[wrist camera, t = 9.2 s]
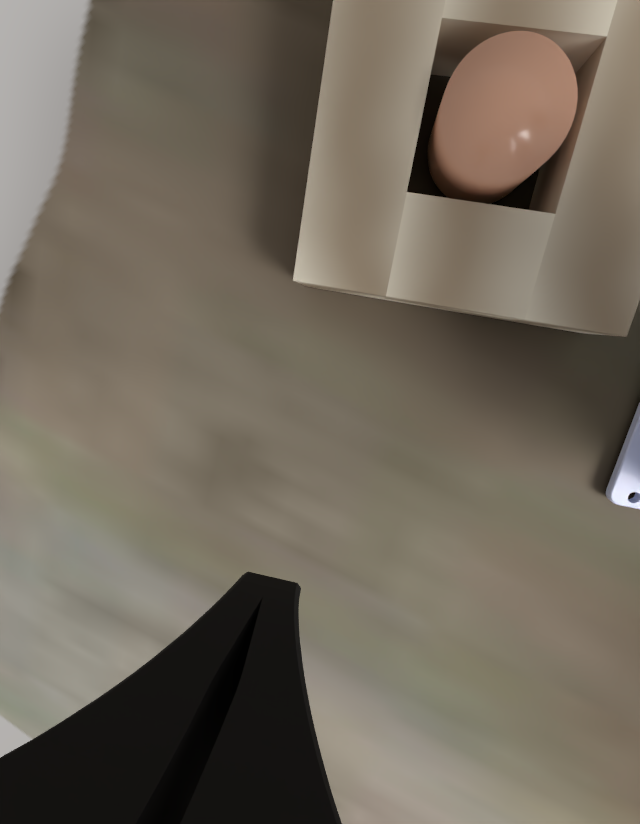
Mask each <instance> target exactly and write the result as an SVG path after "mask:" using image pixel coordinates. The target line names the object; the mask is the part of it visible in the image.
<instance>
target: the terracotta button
mask: <svg viewBox="0 0 640 824" xmlns="http://www.w3.org/2000/svg"><path fill="white" fill-rule="evenodd" d="M577 99H578V87H577V81H576V76H575V72H574V69H573V67H572V64H571V62H570V60H569V58H568V57H567V55H566V54H565V52H564V51H563V50H562V49H561V48H560V47H559V46H558V45H557V44H556V43H555V42H553V41H552V40H551V39H549V38H547V37H545V36H543V35H541V34H538V33H535V32H529V31H510V32H505V33H501V34H498V35H496V36H493V37H491V38H489V39H487V40H485V41H484V42H482V43H480V44H479V45H478V46H476V47H475V48H474V49H472V50H471V51H470V52H469V53H468V54H467V55H466V56H465V57H464V58H463V60H462V61H461V62H460V63H459V65H458V66H457V68H456V69H455V71H454V72H453V74H452V76H451V78H450V80H449V82H448V84H447V87H446V89H445V92H444V95H443V98H442V101H441V104H440V107H439V110H438V113H437V116H436V119H435V122H434V125H433V128H432V131H431V135H430V138H429V143H428V152H427V158H428V166H429V170H430V173H431V176H432V179H433V180H434V182H435V184H436V186H437V187H438V188H439V190H440V191H441V192H442V193H443V194H444V195H446V196H447V197H448V198H451V199H458V200H465V201H472V202H479V203H485V204H490V203H493V202H496V201H498V200H500V199H502V198H504V197H505V196H507V195H508V194H510V193H511V192H512V191H513V190H514V189H516V188H517V187H518V186H519V185H520V184H521V183H522V182H523V181H525V180H526V179H527V178H528V177H529V176H530V175H531V174H533V173H534V172H535V171H536V170H537V169H538V168H539V167H541V166H542V165H543V164H544V163H545V162H546V161H547V160H548V159H549V158H550V157H551V156H552V155H553V154H554V153H555V152H556V151H557V150H558V148H559V147H560V146H561V144H562V143H563V141H564V140H565V138H566V136H567V134H568V132H569V130H570V128H571V126H572V123H573V120H574V117H575V112H576V108H577Z"/></svg>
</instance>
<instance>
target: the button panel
mask: <svg viewBox="0 0 640 824" xmlns="http://www.w3.org/2000/svg"><path fill="white" fill-rule="evenodd" d="M510 31H529V32H535V33H538V34H541V35H543V36H545V37H547V38H549V39H551V40H552V41H553V42H555V43H556V44H557V45H558V46H559V47H560V48H561V49H562V50H563V51H564V52H565V54H566V55H567V57H568V58H569V60H570V62H571V64H572V67H573V69H574V72H575V76H576V81H577V87H578V99H577V108H576V112H575V117H574V120H573V123H572V126H571V128H570V130H569V132H568V134H567V136H566V138H565V140H564V141H563V143H562V144H561V146H560V147H559V148H558V150H557V151H556V152H555V153H554V154H553V155H552V156H551V157H550V158H549V159H548V160H547V161H546V162H545V163H544V164H543V165H542V166H541V167H540V170H539V173H538V177H537V181H536V184H535V188H534V192H533V195H532V199H531V203H530V206H529V210H526V209H519V208H512V207H506V206H499V205H492V204H485V203H479V202H472V201H465V200H458V199H451V198H445V197H438V196H431V195H424V194H418V193H411V192H407V189H408V184H409V179H410V174H411V169H412V164H413V159H414V154H415V149H416V144H417V139H418V134H419V129H420V124H421V119H422V114H423V109H424V105H425V100H426V95H427V90H428V85H429V80H430V75H439V76H447V77H451V76H452V74H453V72H454V71H455V69H456V68H457V66H458V65H459V63H460V62H461V61H462V60H463V58H464V57H465V56H466V55H467V54H468V53H469V52H470V51H471V50H472V49H474V48H475V47H476V46H478V45H479V44H480V43H482V42H484V41H485V40H487V39H489V38H491V37H493V36H496V35H498V34H501V33H505V32H510ZM293 281H295V282H297V283H299V284H301V285H304V286H306V287H312V288H318V289H324V290H330V291H335V292H341V293H347V294H353V295H359V296H365V297H371V298H377V299H383V300H388V301H394V302H400V303H406V304H412V305H418V306H424V307H430V308H436V309H442V310H447V311H453V312H459V313H465V314H471V315H477V316H483V317H489V318H495V319H500V320H506V321H512V322H518V323H524V324H530V325H536V326H542V327H548V328H554V329H559V330H565V331H571V332H577V333H584V334H597V335H610V336H623V337H627V334H628V332H629V329H630V326H631V323H632V320H633V318H634V315H635V312H636V309H637V306H638V304H639V301H640V0H333V5H332V12H331V19H330V26H329V33H328V40H327V47H326V54H325V61H324V68H323V75H322V82H321V88H320V95H319V102H318V109H317V116H316V123H315V130H314V137H313V144H312V151H311V158H310V165H309V172H308V179H307V186H306V193H305V200H304V207H303V214H302V221H301V228H300V235H299V242H298V249H297V256H296V263H295V270H294V277H293Z"/></svg>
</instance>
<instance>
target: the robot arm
mask: <svg viewBox="0 0 640 824" xmlns="http://www.w3.org/2000/svg"><path fill="white" fill-rule="evenodd" d="M632 492H635V495H634V497H633V498H631V499H628V496H629V494H630V493H632ZM606 496H607V498H608V499H609V500H610V501H611V502H613V503H614V504H617V505H621V506H626V507H631V508H636V509H640V402H639V405H638V407H637V410H636V413H635V415H634V418H633V421H632V423H631V426H630V429H629V431H628V434H627V436H626V439H625V442H624V444H623V447H622V450H621V452H620V455H619V457H618V460H617V463H616V465H615V468H614V471H613V473H612V476H611V478H610V481H609V484H608V486H607V489H606ZM300 591H301V588H300V586H299V585H298V583H295V582H291V581H286V580H282V579H277V578H273V577H269V576H264V575H260V574H256V573H251V572H247V573H245V574H244V575H242V576H241V578H240V579H239V580H238V581H237V582H236V583H235V584H234V585H233V586H232V587H231V588H230V589H229V590H228V592H227V593H226V594H225V595H224V596H223V597H222V598H221V599H220V600H219V601H217V602H216V603H215V604H214V605H213V606H212V607H211V608H210V609H209V610H208V611H207V612H206V613H205V614H204V615H203V616H202V617H200V618H199V619H198V620H197V621H196V622H195V623H194V624H193V625H192V626H191V627H190V628H188V629H187V630H186V631H185V632H184V633H183V634H182V635H180V636H179V637H178V638H177V639H176V640H174V641H173V642H172V643H171V644H169V645H168V646H167V647H166V648H165V649H163V650H162V651H161V652H160V653H159V654H157V655H156V656H155V657H154V658H152V659H151V660H150V661H149V662H147V663H146V664H145V665H143V666H142V667H141V668H139V669H138V670H137V671H136V672H134V673H133V674H131V675H130V676H129V677H127V678H126V679H125V680H123V681H122V682H120V683H119V684H118V685H116V686H115V687H113V688H112V689H111V690H109V691H108V692H106V693H105V694H103V695H102V696H100V697H99V698H98V699H96V700H94V701H93V702H91V703H90V704H88V705H87V706H85V707H84V708H82V709H81V710H79V711H78V712H76V713H74V714H73V715H71V716H70V717H68V718H67V719H65V720H64V721H62V722H61V723H59V724H57V725H56V726H54V727H52V728H51V729H49V730H48V731H46V732H44V733H43V734H41V735H39V736H38V737H36V738H34V739H33V740H31V741H30V742H27V743H26V744H24V745H22V746H20V747H18V748H17V749H15V750H13V751H11V752H10V753H8V754H6V755H4V756H3V757H1V758H0V824H342V823H341V820H340V817H339V814H338V811H337V808H336V805H335V802H334V799H333V796H332V793H331V789H330V786H329V782H328V778H327V775H326V771H325V768H324V764H323V760H322V757H321V753H320V749H319V745H318V741H317V737H316V733H315V729H314V724H313V720H312V715H311V710H310V705H309V700H308V695H307V689H306V684H305V678H304V671H303V664H302V655H301V647H300V637H299V619H298V606H299V596H300Z"/></svg>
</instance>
